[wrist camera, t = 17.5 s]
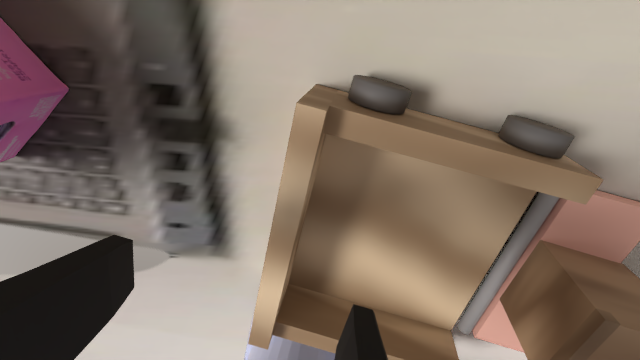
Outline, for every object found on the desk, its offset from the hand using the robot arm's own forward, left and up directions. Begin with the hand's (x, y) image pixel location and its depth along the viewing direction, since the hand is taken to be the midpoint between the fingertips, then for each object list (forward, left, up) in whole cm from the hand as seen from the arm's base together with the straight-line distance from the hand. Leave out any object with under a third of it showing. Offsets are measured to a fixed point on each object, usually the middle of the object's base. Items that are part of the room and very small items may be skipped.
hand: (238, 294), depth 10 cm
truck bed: (-2, -7, -10) cm, 12 cm away
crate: (-2, -16, -9) cm, 18 cm away
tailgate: (-2, -13, -9) cm, 16 cm away
